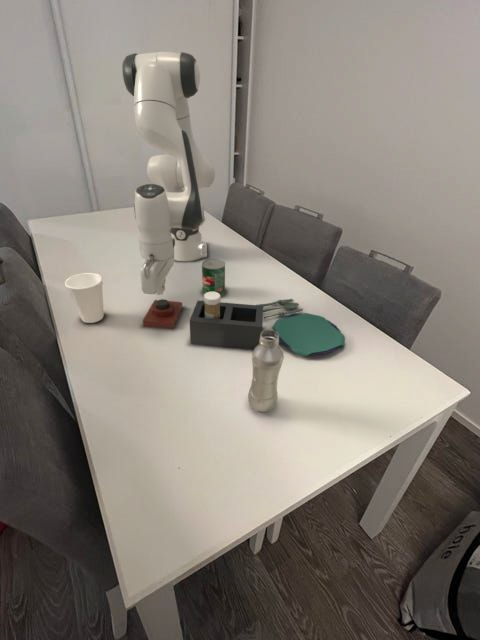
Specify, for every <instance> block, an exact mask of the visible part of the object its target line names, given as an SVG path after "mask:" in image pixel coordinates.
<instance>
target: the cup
mask: <svg viewBox="0 0 480 640" xmlns="http://www.w3.org/2000/svg"><path fill="white" fill-rule="evenodd" d="M103 281H104V280H103V277H102V276H101V275H100V274H98V273H95V272H82V273H77V274H74V275H71V276H69V277H68V278H67V279H66V280H65V281H64V286H65V289H66V291H67V292H68V294H69V296H70V298H71V300H72V302H73V304H74V306H75V308H76V311H77V312H78V315H79V317H80V319H81V321H82V322H83V323H87V324H95V323H97V322H99V321H102V319H103V318H104V294H103V293H104V292H103V291H104V290H103V285H104V283H103Z"/></svg>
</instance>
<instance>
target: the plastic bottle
mask: <svg viewBox="0 0 480 640" xmlns="http://www.w3.org/2000/svg"><path fill="white" fill-rule="evenodd" d="M259 342H260V343H259V344H258V345H257V346H256V347H255V348H254V350H252V353H251V362H252V363H251V364H252V379H251V384H250V387H249V390H248V393H247V400H248V404H249V406H250V407H251V408H252V409H253V410H255V411H257V412H259V413H260V412H261V413H265V412H269V411H270V410H272V409H274V408H275V406H276V404H277V402H278V398H279V397H278V381H279V375H280V371H281V368H282V365H283V362H284V358H285V355H284V351H283V349H282V348H281V347H280V341H279V334H278V333H277V332H276V331H275V329H265V330H264V329H263V330H262V332H261V334H260V340H259Z"/></svg>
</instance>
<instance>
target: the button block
mask: <svg viewBox="0 0 480 640" xmlns="http://www.w3.org/2000/svg"><path fill="white" fill-rule="evenodd" d="M158 300H159V299H154V301H153V302H152V304H151V305H150V307H149V309H148V311H147V313H146V314H145V316H144V318H143V319H142V325H143V327H145V328H157V329H167V330H168V329H169V330H173V329H174V328H175V326H176V324H177V321H178V319H179V316H180V314H181V312H182V310H183V302H182V301H174V300H173V301H172V300H167V301H168V304H169V308H167V309H164V310H159V309H157V305H156V302H157V301H158Z"/></svg>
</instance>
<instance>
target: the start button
mask: <svg viewBox="0 0 480 640" xmlns="http://www.w3.org/2000/svg"><path fill="white" fill-rule="evenodd" d="M157 300H158V301H157V302H156V305H157V309H159V310H164V309H167V308H169V304H168V301H169V300H167V299H164V298H163V299H162V298H161V299H157Z"/></svg>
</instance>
